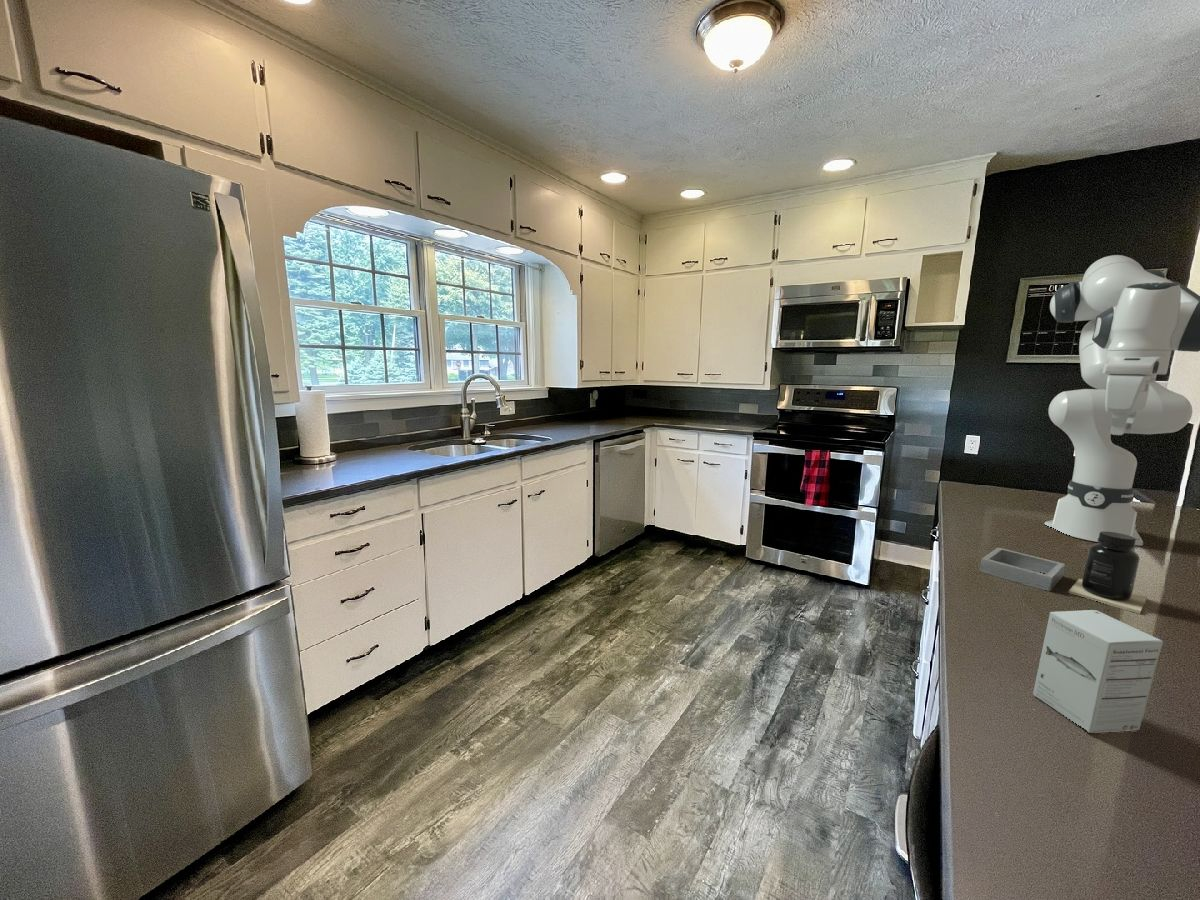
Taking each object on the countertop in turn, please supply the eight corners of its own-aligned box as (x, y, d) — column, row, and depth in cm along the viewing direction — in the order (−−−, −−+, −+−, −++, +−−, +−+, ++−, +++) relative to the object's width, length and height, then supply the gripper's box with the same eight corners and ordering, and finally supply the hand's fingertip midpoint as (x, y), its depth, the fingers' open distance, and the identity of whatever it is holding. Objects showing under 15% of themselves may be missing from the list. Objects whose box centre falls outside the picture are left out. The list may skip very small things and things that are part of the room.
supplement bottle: (1141, 603, 90) (1155, 543, 88) (1098, 599, 92) (1111, 540, 89) (1110, 587, 97) (1123, 530, 95) (1071, 583, 98) (1082, 528, 96)
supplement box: (1030, 695, 66) (1046, 610, 63) (1079, 692, 66) (1097, 608, 64) (1088, 736, 58) (1109, 642, 56) (1143, 733, 59) (1166, 639, 57)
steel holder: (995, 559, 112) (997, 547, 111) (1062, 577, 103) (1065, 564, 102) (979, 571, 105) (981, 558, 104) (1049, 591, 96) (1052, 577, 95)
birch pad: (1078, 581, 101) (1079, 578, 101) (1146, 599, 93) (1147, 596, 93) (1068, 593, 95) (1068, 590, 95) (1139, 614, 88) (1140, 611, 87)
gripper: (1120, 365, 105) (1108, 427, 108) (1103, 364, 93) (1089, 434, 96) (1164, 366, 100) (1150, 431, 103) (1152, 365, 88) (1136, 438, 91)
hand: (1120, 432), depth 99 cm, fingers open, 8 cm apart
